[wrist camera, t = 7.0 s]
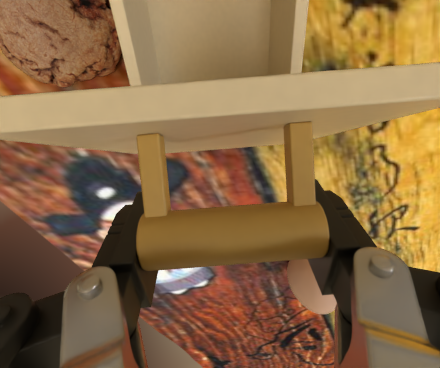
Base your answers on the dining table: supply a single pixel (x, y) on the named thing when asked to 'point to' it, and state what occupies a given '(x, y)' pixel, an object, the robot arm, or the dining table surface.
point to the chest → (209, 38)
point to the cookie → (60, 39)
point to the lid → (223, 139)
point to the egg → (308, 288)
